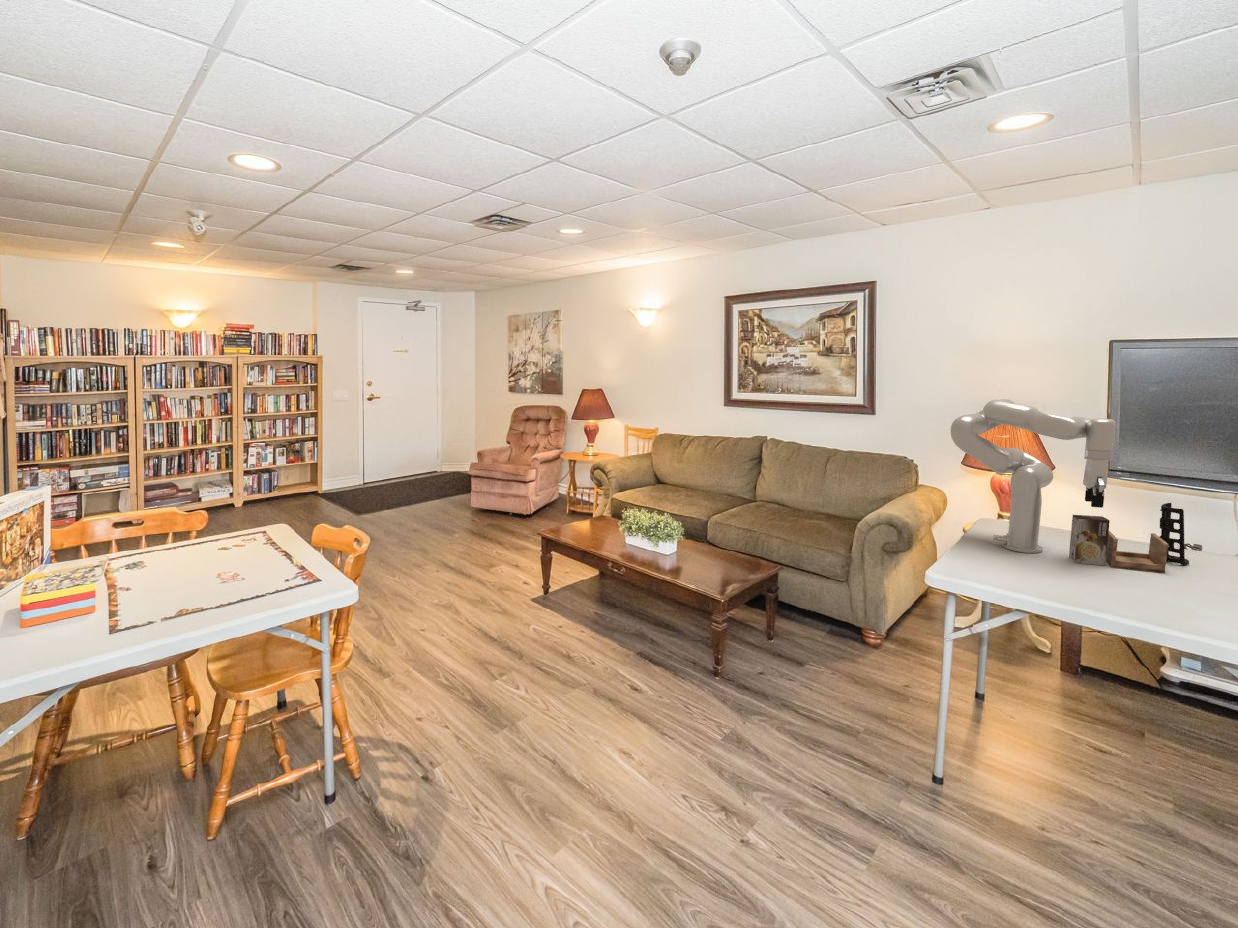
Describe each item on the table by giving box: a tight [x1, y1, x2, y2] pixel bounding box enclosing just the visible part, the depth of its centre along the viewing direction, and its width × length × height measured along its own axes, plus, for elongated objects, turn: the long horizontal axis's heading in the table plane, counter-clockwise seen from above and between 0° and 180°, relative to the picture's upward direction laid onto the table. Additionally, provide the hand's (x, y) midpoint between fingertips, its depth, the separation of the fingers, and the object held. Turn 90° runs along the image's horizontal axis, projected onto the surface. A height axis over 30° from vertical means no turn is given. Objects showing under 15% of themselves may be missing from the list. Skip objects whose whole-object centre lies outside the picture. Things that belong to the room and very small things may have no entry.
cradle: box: [1106, 530, 1168, 574], centre depth 207 cm, size 14×14×10 cm
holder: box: [1159, 502, 1190, 567], centre depth 209 cm, size 11×8×20 cm
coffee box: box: [1068, 514, 1111, 566], centre depth 210 cm, size 9×6×16 cm
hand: (1093, 504), depth 207 cm, fingers open, 9 cm apart
